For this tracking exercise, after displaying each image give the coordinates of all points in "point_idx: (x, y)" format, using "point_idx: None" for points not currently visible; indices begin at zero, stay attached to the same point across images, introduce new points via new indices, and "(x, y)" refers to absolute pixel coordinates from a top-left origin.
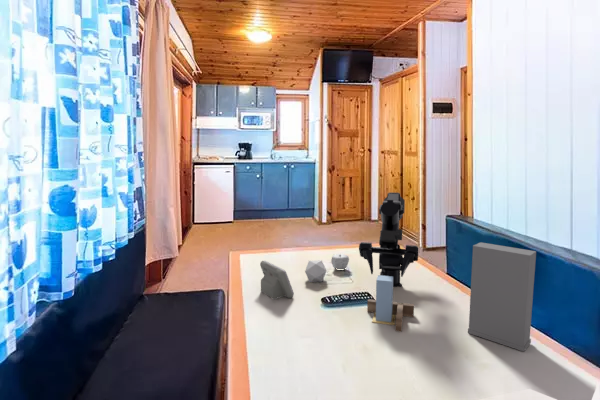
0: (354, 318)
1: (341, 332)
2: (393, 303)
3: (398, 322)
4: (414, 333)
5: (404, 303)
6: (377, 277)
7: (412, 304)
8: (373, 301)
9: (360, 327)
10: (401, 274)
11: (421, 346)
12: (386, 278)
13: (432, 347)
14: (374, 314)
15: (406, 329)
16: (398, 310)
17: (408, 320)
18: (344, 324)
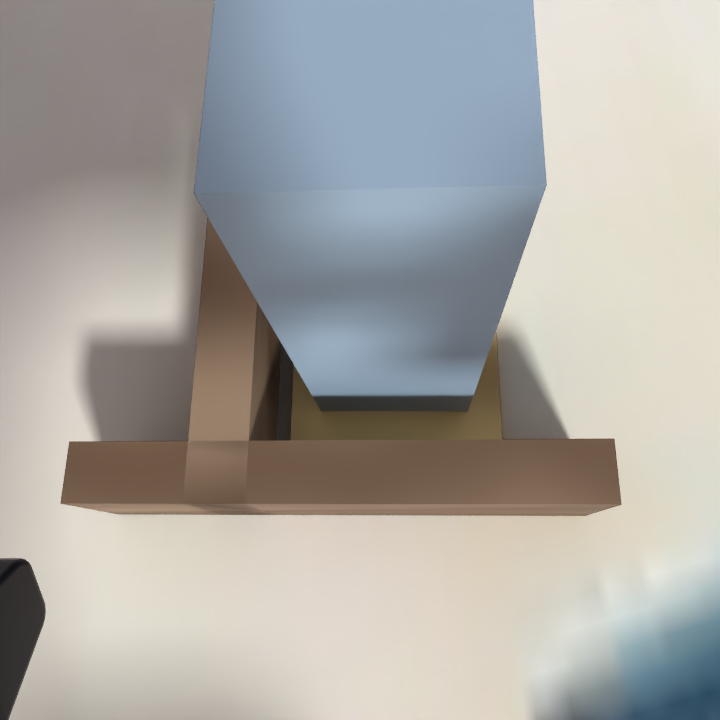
0: (664, 282)
1: (689, 34)
2: (297, 456)
3: None
4: (149, 175)
5: (169, 493)
6: (532, 44)
7: (79, 489)
8: (540, 451)
9: (568, 144)
10: (1, 566)
11: (122, 29)
12: (336, 39)
13: (55, 38)
14: (495, 394)
15: (204, 217)
16: (242, 286)
17: (177, 382)
18: (713, 153)
